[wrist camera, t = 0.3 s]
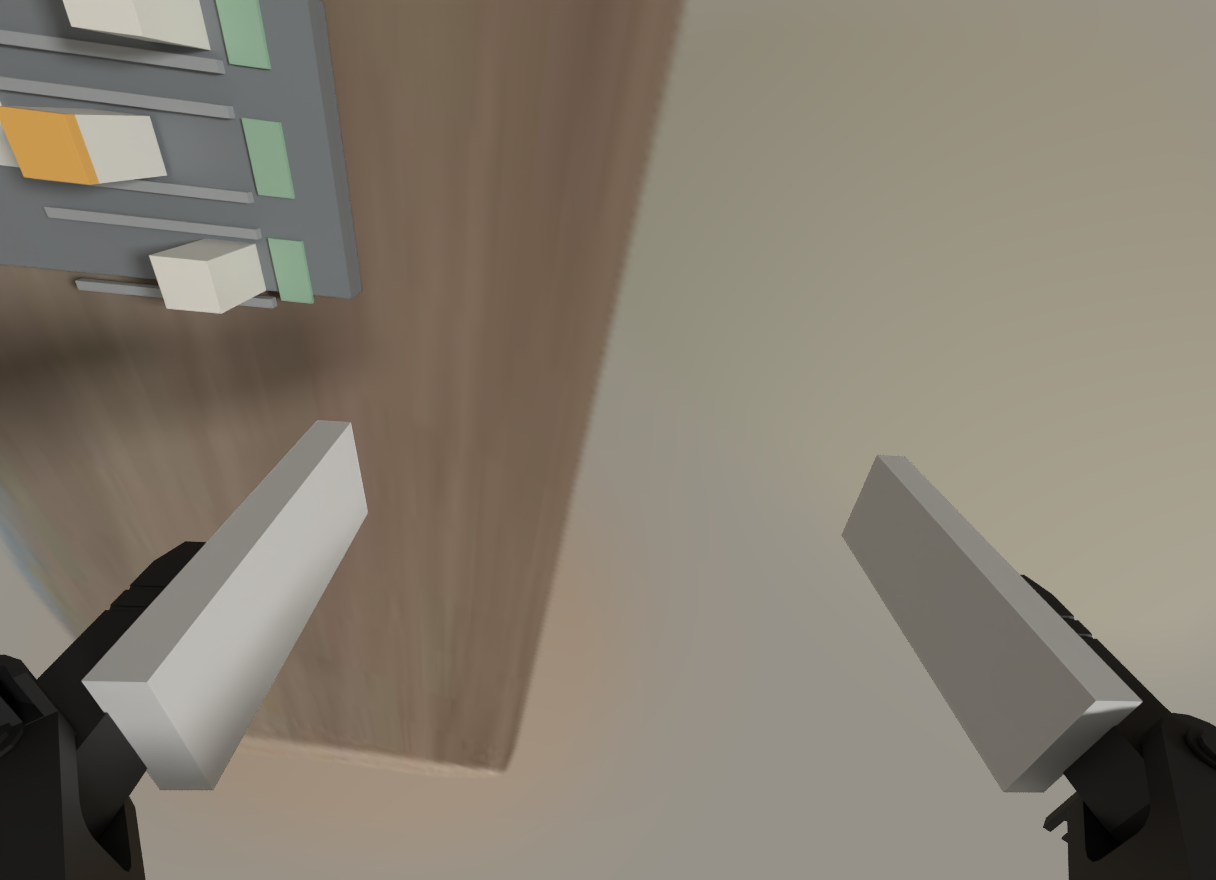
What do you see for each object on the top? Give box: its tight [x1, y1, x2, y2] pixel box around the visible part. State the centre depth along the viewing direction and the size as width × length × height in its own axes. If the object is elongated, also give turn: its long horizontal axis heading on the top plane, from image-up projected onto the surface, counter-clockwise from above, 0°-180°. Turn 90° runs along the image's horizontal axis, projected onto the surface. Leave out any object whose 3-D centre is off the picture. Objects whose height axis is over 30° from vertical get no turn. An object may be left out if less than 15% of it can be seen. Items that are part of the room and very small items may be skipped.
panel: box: [0, 0, 362, 314], centre depth 28 cm, size 18×22×7 cm
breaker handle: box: [0, 106, 167, 185], centre depth 27 cm, size 3×3×6 cm
